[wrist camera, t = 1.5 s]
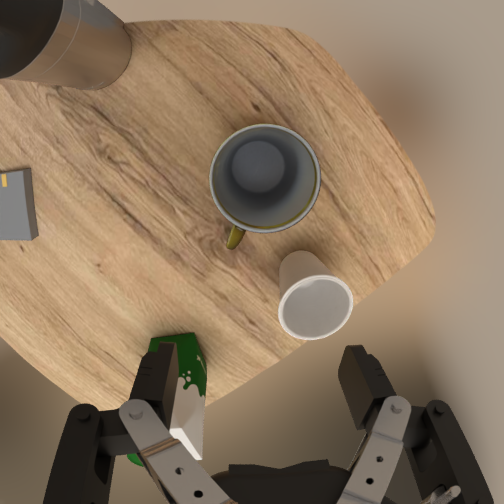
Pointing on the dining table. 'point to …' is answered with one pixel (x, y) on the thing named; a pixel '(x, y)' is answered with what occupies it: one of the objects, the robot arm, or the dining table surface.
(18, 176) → the board
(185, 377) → the soya milk
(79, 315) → the dining table surface
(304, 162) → the ceramic cup
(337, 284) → the dixie cup
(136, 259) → the dining table surface
